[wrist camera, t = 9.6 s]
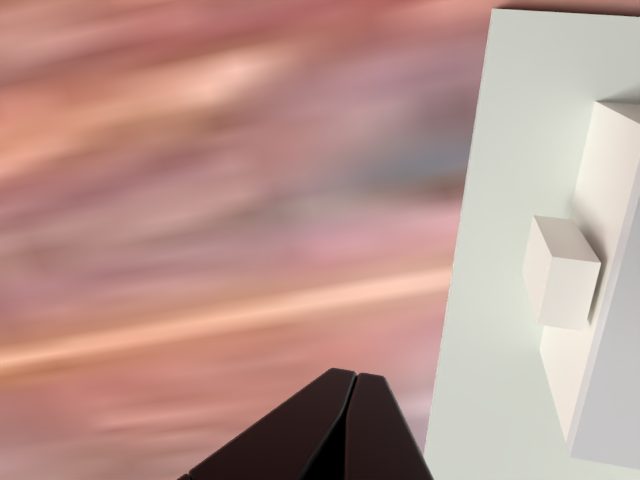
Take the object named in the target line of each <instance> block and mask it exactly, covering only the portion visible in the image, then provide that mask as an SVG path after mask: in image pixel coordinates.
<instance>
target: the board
mask: <svg viewBox="0 0 640 480" xmlns="http://www.w3.org/2000/svg"><path fill="white" fill-rule="evenodd" d="M595 101H601V102H613V103H625V104H637V105H640V17H630V16H613V15H596V14H579V13H561V12H544V11H527V10H510V9H492V12H491V18H490V25H489V31H488V38H487V44H486V51H485V57H484V64H483V70H482V77H481V84H480V90H479V97H478V103H477V110H476V116H475V123H474V129H473V136H472V142H471V149H470V155H469V162H468V168H467V175H466V181H465V188H464V194H463V201H462V207H461V214H460V220H459V227H458V233H457V240H456V246H455V253H454V260H453V266H452V273H451V279H450V286H449V292H448V299H447V305H446V312H445V318H444V325H443V331H442V338H441V344H440V351H439V357H438V364H437V370H436V377H435V383H434V390H433V396H432V403H431V409H430V416H429V422H428V429H427V435H426V442H425V449H424V455H423V457H424V459H425V461H426V464H427V466H428V468H429V470H430V472H431V474H432V476H433V478H434V480H640V470H638V469H632V468H627V467H621V466H615V465H610V464H604V463H599V462H593V461H588V460H582V459H576V458H571V457H570V456H569V453H568V449H567V446H566V442H565V439H564V435H563V432H562V428H561V425H560V421H559V418H558V414H557V410H556V407H555V403H554V400H553V396H552V393H551V389H550V386H549V382H548V379H547V375H546V372H545V368H544V365H543V361H542V358H541V354H540V351H539V349H540V344H541V340H542V335H543V331H544V326H543V325H537V322H536V318H535V315H534V312H533V308H532V305H531V302H530V298H529V295H528V292H527V288H526V285H525V282H524V279H523V275H522V269H523V264H524V259H525V254H526V249H527V244H528V239H529V234H530V229H531V224H532V219H533V215H537V216H545V217H554V218H563V219H569V215H570V210H571V206H572V202H573V197H574V193H575V188H576V184H577V179H578V175H579V170H580V166H581V161H582V157H583V152H584V148H585V144H586V139H587V135H588V130H589V126H590V121H591V117H592V112H593V108H594V103H595Z"/></svg>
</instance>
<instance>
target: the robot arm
mask: <svg viewBox="0 0 640 480" xmlns="http://www.w3.org/2000/svg"><path fill="white" fill-rule="evenodd" d="M177 480H434V478H433V476H432V474H431V472H430V470H429V468H428V466H427V464H426V461H425V459H424V457H423V455H422V453H421V451H420V449H419V447H418V445H417V443H416V441H415V438H414V436H413V434H412V432H411V430H410V428H409V426H408V424H407V422H406V420H405V418H404V416H403V413H402V411H401V409H400V407H399V405H398V403H397V401H396V399H395V397H394V395H393V393H392V390H391V388H390V386H389V384H388V382H387V380H386V378H385V377H383V376H380V375H374V374H368V373H360V374H359V375H358V376H357V374H356V373H355V372H354V371H350V370H344V369H338V368H331V369H329V370H327V371H326V372H325V373H323V374H322V375H321V376H319V377H318V378H316V379H315V380H314V381H312V382H311V383H310V384H308V385H307V386H305V387H304V388H303V389H301V390H300V391H299V392H297V393H296V394H294V395H293V396H292V397H290V398H289V399H288V400H286V401H285V402H283V403H282V404H281V405H279V406H278V407H277V408H275V409H274V410H272V411H271V412H270V413H268V414H267V415H265V416H264V417H263V418H261V419H260V420H259V421H257V422H256V423H254V424H253V425H252V426H250V427H249V428H248V429H246V430H245V431H243V432H242V433H241V434H239V435H238V436H237V437H235V438H234V439H232V440H231V441H230V442H228V443H227V444H226V445H224V446H223V447H221V448H220V449H219V450H217V451H216V452H215V453H213V454H212V455H210V456H209V457H208V458H206V459H205V460H203V461H202V462H201V463H199V464H198V465H197V466H195V467H194V468H192V469H191V470H190V471H189V474H184V475H182V476H181V477H180V478H178V479H177Z"/></svg>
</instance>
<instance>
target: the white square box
mask: <svg viewBox="0 0 640 480" xmlns="http://www.w3.org/2000/svg"><path fill="white" fill-rule="evenodd" d="M522 275H523V279H524V282H525V285H526V288H527V292H528V295H529V298H530V302H531V305H532V308H533V312H534V315H535V318H536V322H537V325H543V326H544V331H543V335H542V340H541V344H540V349H539V351H540V354H541V358H542V361H543V365H544V368H545V372H546V375H547V379H548V382H549V386H550V389H551V393H552V396H553V400H554V403H555V407H556V410H557V414H558V418H559V421H560V425H561V428H562V432H563V435H564V439H565V442H566V446H567V449H568V453H569V456H570V457H571V458H576V459H582V460H588V461H593V462H599V463H604V464H610V465H615V466H621V467H627V468H632V469H638V470H640V105H637V104H625V103H613V102H601V101H595V103H594V108H593V112H592V117H591V121H590V126H589V130H588V135H587V139H586V144H585V148H584V152H583V157H582V161H581V166H580V170H579V175H578V179H577V184H576V188H575V193H574V197H573V202H572V206H571V210H570V215H569V219H563V218H554V217H545V216H537V215H533V219H532V224H531V229H530V234H529V239H528V244H527V249H526V254H525V259H524V264H523V269H522Z"/></svg>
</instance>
